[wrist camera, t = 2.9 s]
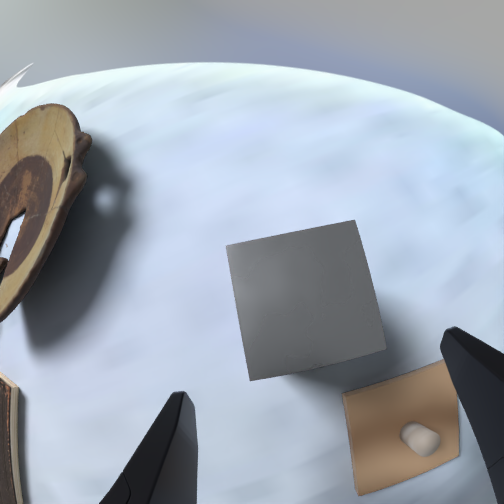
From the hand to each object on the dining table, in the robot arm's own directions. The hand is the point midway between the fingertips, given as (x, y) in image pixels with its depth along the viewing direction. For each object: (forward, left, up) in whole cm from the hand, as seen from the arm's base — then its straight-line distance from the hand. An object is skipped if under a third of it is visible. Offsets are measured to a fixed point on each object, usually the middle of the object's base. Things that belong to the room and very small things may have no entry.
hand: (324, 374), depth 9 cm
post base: (-8, +4, -10) cm, 14 cm away
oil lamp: (+32, -4, -10) cm, 33 cm away
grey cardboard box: (+1, -2, -10) cm, 10 cm away
